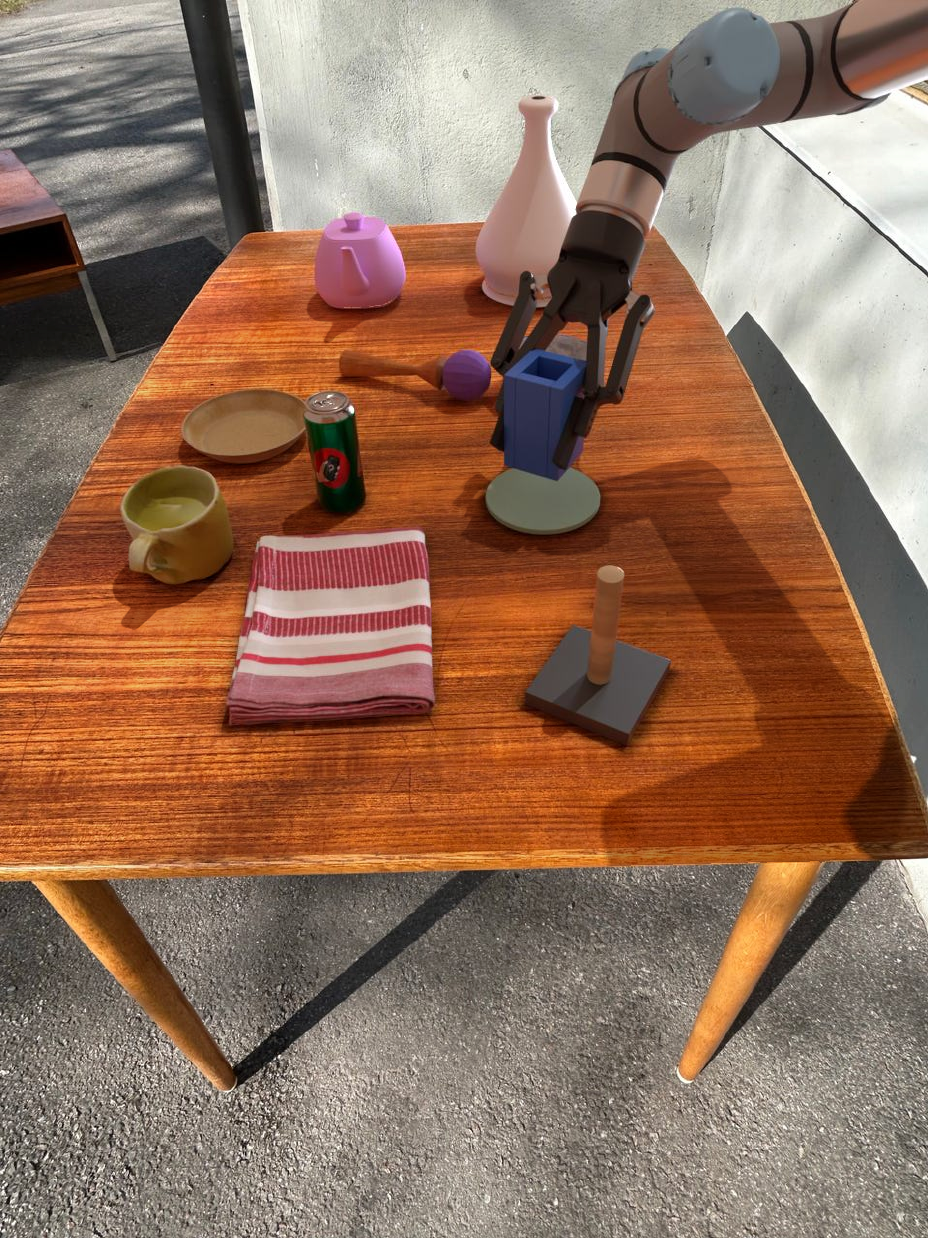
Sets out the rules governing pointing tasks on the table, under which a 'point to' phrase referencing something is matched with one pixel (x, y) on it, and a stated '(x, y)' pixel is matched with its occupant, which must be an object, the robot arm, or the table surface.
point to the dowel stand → (599, 671)
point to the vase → (527, 211)
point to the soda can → (334, 451)
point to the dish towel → (335, 629)
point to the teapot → (358, 263)
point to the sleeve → (540, 410)
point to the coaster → (542, 501)
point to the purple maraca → (428, 371)
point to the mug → (177, 525)
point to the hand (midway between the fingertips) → (527, 456)
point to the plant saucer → (245, 425)
